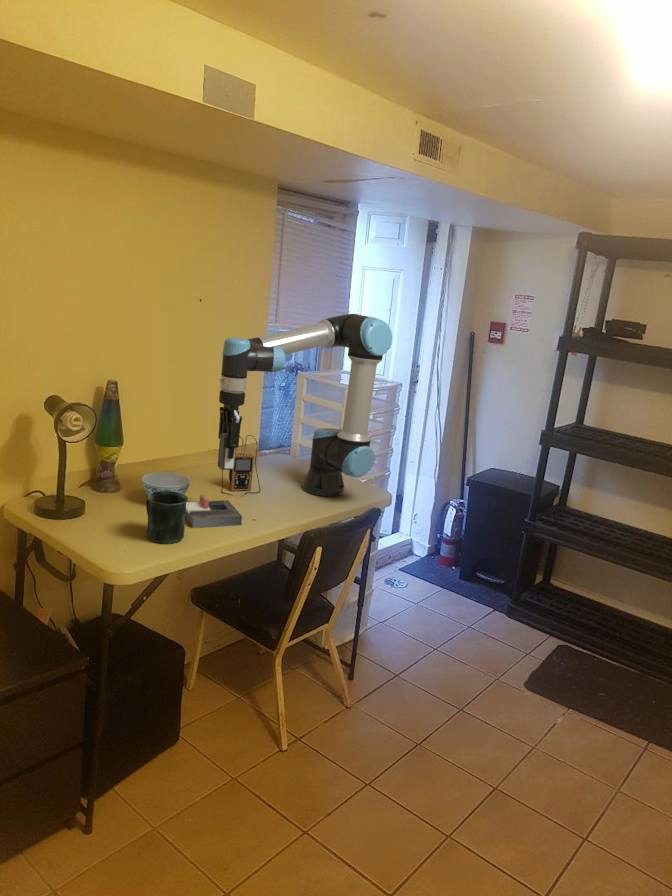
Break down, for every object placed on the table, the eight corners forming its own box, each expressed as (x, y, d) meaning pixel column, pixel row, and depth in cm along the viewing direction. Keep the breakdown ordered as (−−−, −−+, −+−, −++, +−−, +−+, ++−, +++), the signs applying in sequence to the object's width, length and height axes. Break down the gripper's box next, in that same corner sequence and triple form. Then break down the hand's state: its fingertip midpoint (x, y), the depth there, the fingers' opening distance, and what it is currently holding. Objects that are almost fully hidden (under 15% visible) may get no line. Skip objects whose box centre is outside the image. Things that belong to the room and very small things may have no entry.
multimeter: (224, 498, 233) (229, 441, 228) (218, 489, 242) (223, 433, 237) (267, 498, 239) (272, 442, 234) (259, 488, 248) (264, 434, 243)
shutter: (203, 503, 217) (204, 493, 216) (209, 511, 211) (210, 501, 210) (182, 504, 214) (182, 494, 213) (187, 512, 208) (188, 502, 207)
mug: (161, 548, 189) (163, 507, 186) (130, 531, 197) (132, 491, 194) (193, 539, 197) (196, 500, 194) (162, 523, 206) (164, 485, 203)
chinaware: (139, 509, 215) (140, 485, 213) (142, 493, 229) (143, 470, 227) (188, 511, 218) (190, 487, 216) (188, 495, 232) (190, 473, 230)
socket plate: (227, 508, 224) (228, 498, 223) (241, 525, 212) (242, 514, 211) (181, 511, 217) (181, 500, 216) (192, 528, 205) (193, 516, 204)
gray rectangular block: (229, 465, 214) (232, 432, 212) (234, 469, 211) (237, 435, 208) (217, 465, 213) (220, 432, 210) (221, 469, 209) (224, 435, 207)
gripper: (211, 384, 211) (205, 457, 217) (230, 396, 197) (223, 474, 203) (235, 385, 215) (228, 457, 221) (254, 397, 200) (247, 474, 206)
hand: (226, 465), depth 212 cm, fingers closed on gray rectangular block, 4 cm apart
